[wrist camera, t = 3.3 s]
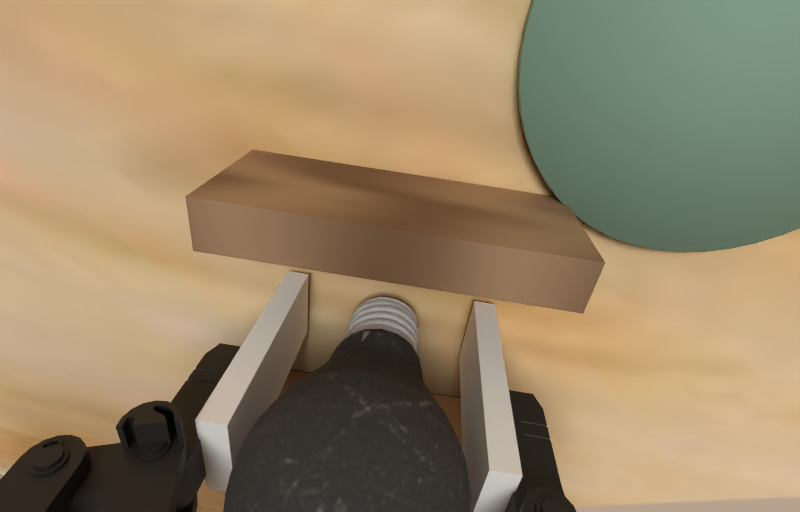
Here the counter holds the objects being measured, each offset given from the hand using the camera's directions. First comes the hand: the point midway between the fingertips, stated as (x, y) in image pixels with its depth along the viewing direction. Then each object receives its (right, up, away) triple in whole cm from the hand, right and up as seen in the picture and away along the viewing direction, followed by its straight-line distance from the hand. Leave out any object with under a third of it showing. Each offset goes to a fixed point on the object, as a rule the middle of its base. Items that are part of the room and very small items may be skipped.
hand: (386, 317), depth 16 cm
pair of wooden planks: (0, 0, 0) cm, 0 cm away
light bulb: (0, 0, +1) cm, 1 cm away
